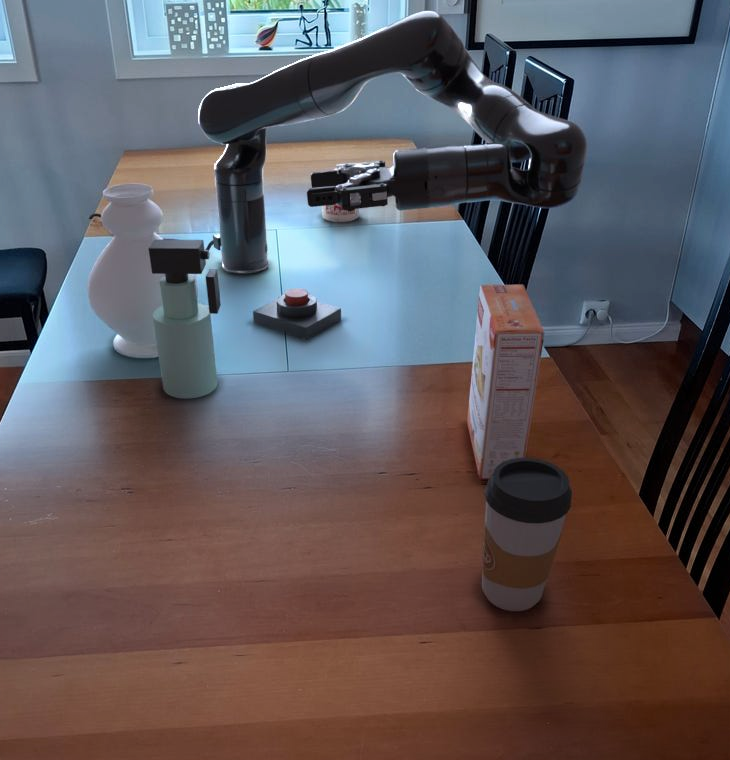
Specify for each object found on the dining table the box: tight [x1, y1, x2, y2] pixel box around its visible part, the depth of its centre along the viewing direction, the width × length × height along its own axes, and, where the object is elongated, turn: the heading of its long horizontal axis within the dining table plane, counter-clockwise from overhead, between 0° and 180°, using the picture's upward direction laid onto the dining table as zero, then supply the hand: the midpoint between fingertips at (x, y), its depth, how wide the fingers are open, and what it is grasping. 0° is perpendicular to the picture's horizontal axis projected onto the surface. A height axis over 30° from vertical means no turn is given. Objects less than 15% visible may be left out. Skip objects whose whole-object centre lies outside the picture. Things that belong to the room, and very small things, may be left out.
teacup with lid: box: [321, 163, 360, 223], centre depth 187 cm, size 12×9×12 cm
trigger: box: [205, 268, 222, 315], centre depth 116 cm, size 1×3×6 cm, turn 176°
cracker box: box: [466, 284, 545, 480], centre depth 103 cm, size 14×6×21 cm, turn 178°
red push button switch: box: [252, 293, 342, 340], centre depth 143 cm, size 12×10×4 cm
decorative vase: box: [86, 182, 199, 359], centre depth 131 cm, size 18×18×25 cm
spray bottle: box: [148, 239, 219, 400], centre depth 119 cm, size 9×8×22 cm
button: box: [284, 287, 309, 305], centre depth 141 cm, size 4×4×2 cm
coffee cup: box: [481, 457, 573, 612], centre depth 83 cm, size 8×8×15 cm
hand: (309, 189), depth 109 cm, fingers open, 8 cm apart
